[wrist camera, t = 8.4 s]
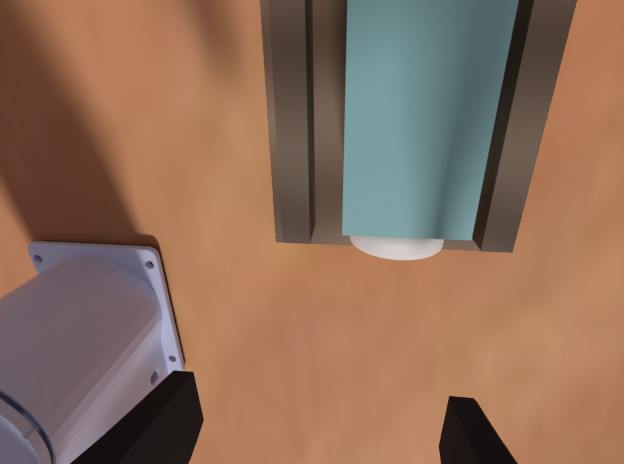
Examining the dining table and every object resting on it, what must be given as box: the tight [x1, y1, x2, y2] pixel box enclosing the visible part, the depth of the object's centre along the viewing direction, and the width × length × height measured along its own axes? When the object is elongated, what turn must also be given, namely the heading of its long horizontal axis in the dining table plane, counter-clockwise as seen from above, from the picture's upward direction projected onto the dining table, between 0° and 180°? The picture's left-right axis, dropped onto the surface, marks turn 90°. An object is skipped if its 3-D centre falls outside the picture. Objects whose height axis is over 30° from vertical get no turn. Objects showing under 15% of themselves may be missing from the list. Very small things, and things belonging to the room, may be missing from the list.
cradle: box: [260, 0, 577, 253], centre depth 13 cm, size 16×11×3 cm
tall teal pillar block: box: [342, 0, 519, 260], centre depth 11 cm, size 12×4×5 cm, turn 1°
